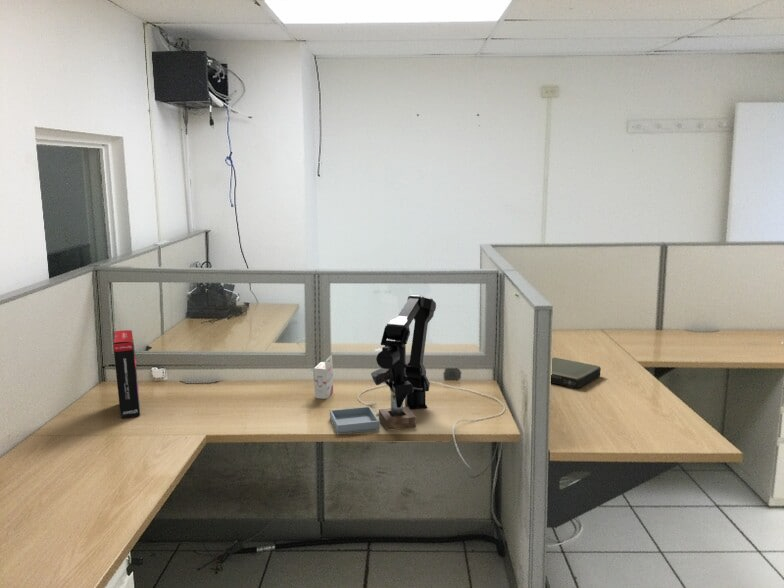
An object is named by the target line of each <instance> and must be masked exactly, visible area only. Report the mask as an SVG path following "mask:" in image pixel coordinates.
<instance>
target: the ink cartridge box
mask: <svg viewBox="0 0 784 588" xmlns="http://www.w3.org/2000/svg"><path fill="white" fill-rule="evenodd" d="M333 364H334V363H333V356H332V354H331V355H329V356H328V358H326V360H325V361H320V362H319V363H318V364H317V365H316V366H315V367H314V368H313V370H314V371H313V372H314V373H313V379H314V398H315V399H322V400H323V399H324V400H327V399H328V398H329V397H330V396H331V394H333V393H334V370H333V369H334V368H333V367H334V365H333Z"/></svg>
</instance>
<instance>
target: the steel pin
mask: <svg viewBox="0 0 784 588" xmlns="http://www.w3.org/2000/svg"><path fill="white" fill-rule="evenodd" d="M403 407H404V402H403V403H402V405H401V407H400V408H397V404H396V398H395V393H393V392H392V390H391V391H390V408H391V417H394V416H403Z"/></svg>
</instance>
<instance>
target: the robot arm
mask: <svg viewBox="0 0 784 588" xmlns="http://www.w3.org/2000/svg"><path fill="white" fill-rule="evenodd" d="M436 310H437V304H436V301H434V299H433V298H430V297H429V298H428V297H424V296H423V295H420V294H411V295H408V297H407V301H406V302H405V304H404V305H403V307H402V309H401V310H400V312H399V313H398V315H397V316H396V317H394V318H392V319H390V320H389V321H388V322H387V323H386V325H385V327H384V328H383V329H384V330H383V333H382V338H381V342H380V346H382V347H381V351H380V352H378V354H377V355H376V360H375V361H376V363H377V365H378V366H379V367H380V368H379V369H376V370H374V371H371V373H370V376H371V378H372V381H373V383H374V384H375V385H376V386H379V385H381V384H383V383H384V384H386V385H387V386H388V387H389V391H390V392H391V390H392V392H393V393H395V398H396V404H397V408H400V407H401V405H402V403H403V404H404V403H405V405H406V407H408V408H409V410H413V409H414V410H415V409H423V408H424V409H425V408H428V405H427V404H426V394H427V393H426V392H429V391H430V386H431V385H430V381H429V379H428V377H427V370H426V367H425V365H424V357H425V356H424V355H425V350H426V349H425V348H426V340H427V333H428V325H429V322H430V321H431V320H432V319H433V317H434V314H435V311H436ZM413 320H414V326H413V333H412V340H411V341H412V342H411V349H410V357H409V361H408V363H406V361H407V360H406V358H407V357H406V354H407V353H406V349H407V348H406V346H407V344H408V340H409V338H410V334H411V330H410V326H411V324H412V322H413Z"/></svg>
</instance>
